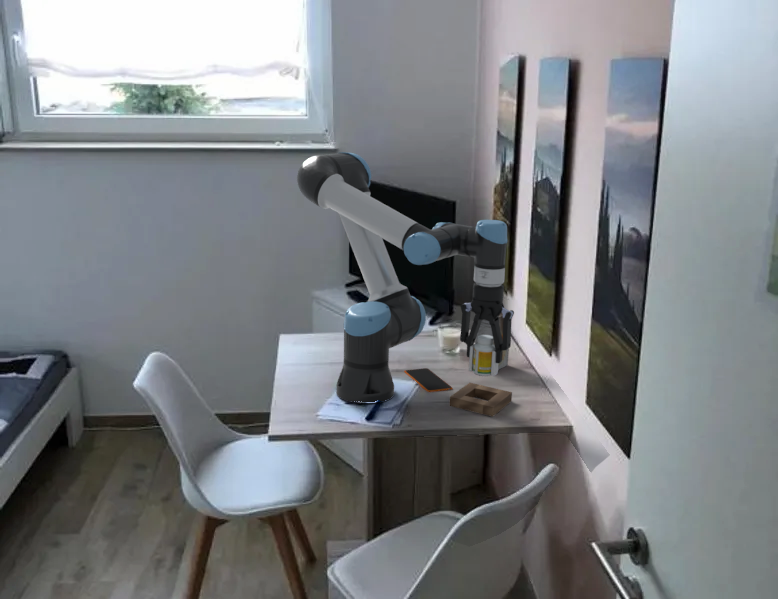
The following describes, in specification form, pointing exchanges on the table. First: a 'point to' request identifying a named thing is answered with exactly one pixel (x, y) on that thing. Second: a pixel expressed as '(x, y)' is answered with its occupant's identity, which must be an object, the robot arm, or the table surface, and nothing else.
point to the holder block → (468, 402)
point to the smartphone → (428, 380)
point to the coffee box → (486, 330)
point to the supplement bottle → (483, 355)
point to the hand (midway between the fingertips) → (483, 371)
